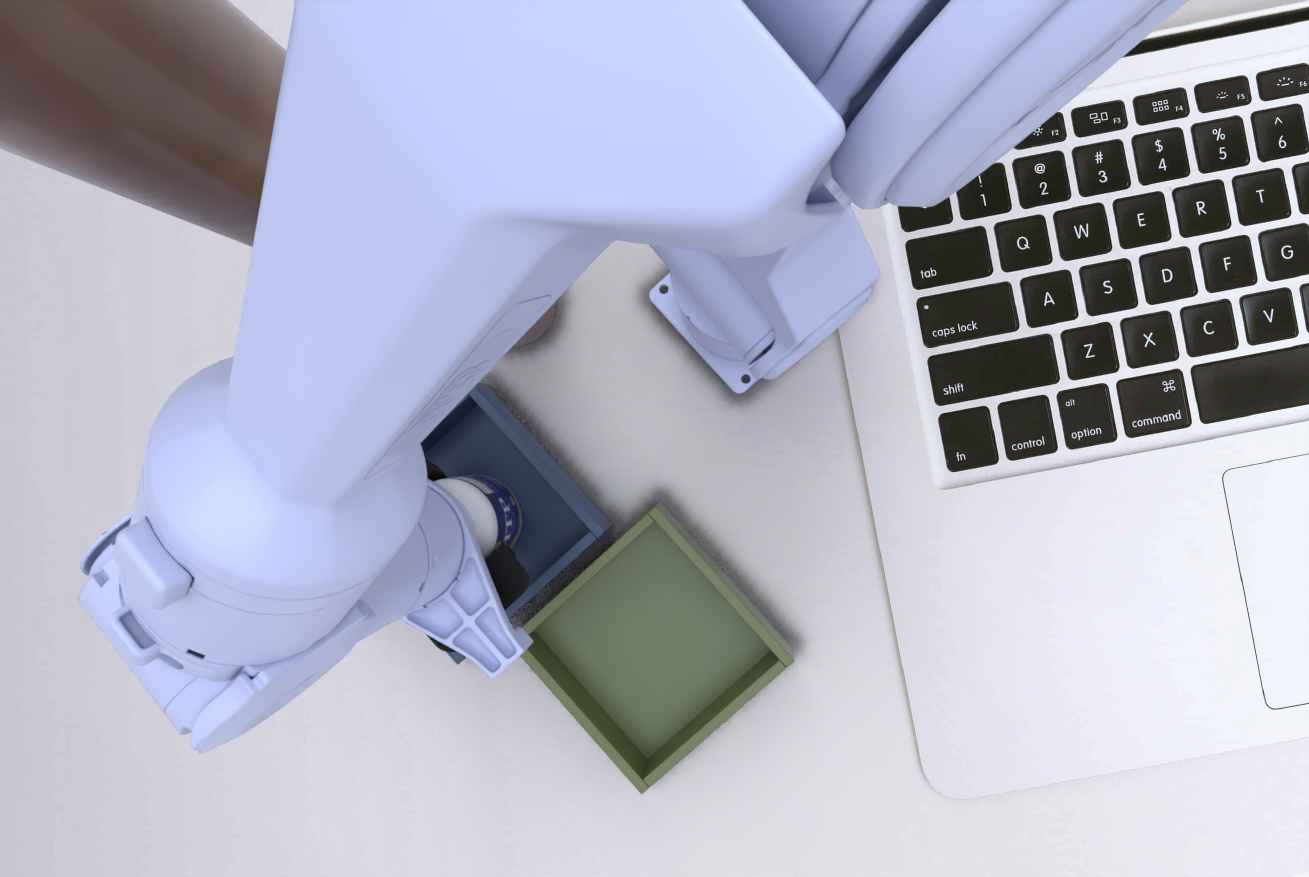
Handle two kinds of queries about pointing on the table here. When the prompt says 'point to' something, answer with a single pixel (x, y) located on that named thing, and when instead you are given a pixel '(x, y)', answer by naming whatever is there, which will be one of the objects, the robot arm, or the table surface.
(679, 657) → the tray
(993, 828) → the table surface
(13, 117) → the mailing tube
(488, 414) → the tray
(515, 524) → the pill bottle
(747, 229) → the robot arm
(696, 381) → the table surface
